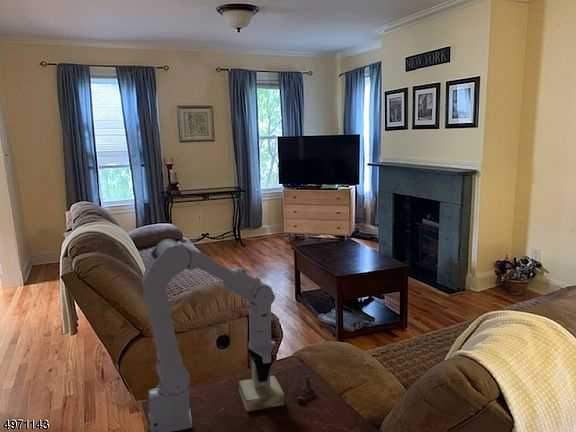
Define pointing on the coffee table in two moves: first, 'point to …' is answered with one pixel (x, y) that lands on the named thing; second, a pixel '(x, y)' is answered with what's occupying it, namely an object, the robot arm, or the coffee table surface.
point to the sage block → (255, 377)
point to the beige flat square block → (261, 394)
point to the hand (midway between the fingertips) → (260, 376)
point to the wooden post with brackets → (305, 389)
